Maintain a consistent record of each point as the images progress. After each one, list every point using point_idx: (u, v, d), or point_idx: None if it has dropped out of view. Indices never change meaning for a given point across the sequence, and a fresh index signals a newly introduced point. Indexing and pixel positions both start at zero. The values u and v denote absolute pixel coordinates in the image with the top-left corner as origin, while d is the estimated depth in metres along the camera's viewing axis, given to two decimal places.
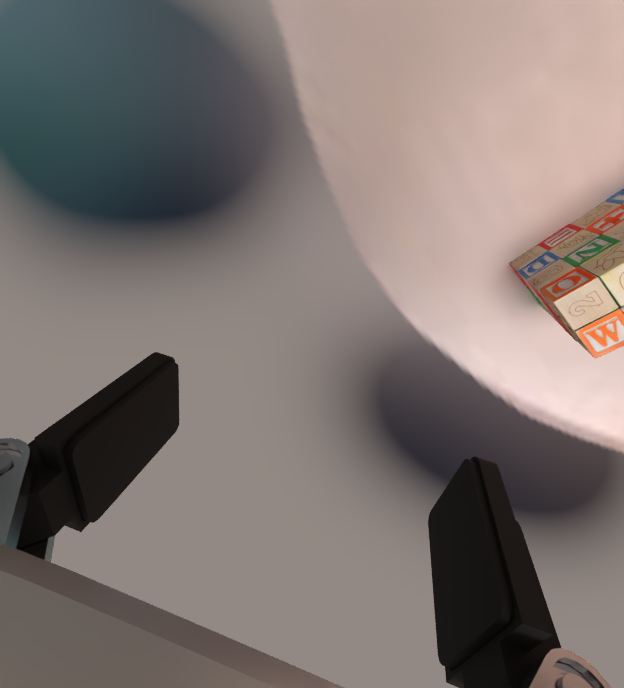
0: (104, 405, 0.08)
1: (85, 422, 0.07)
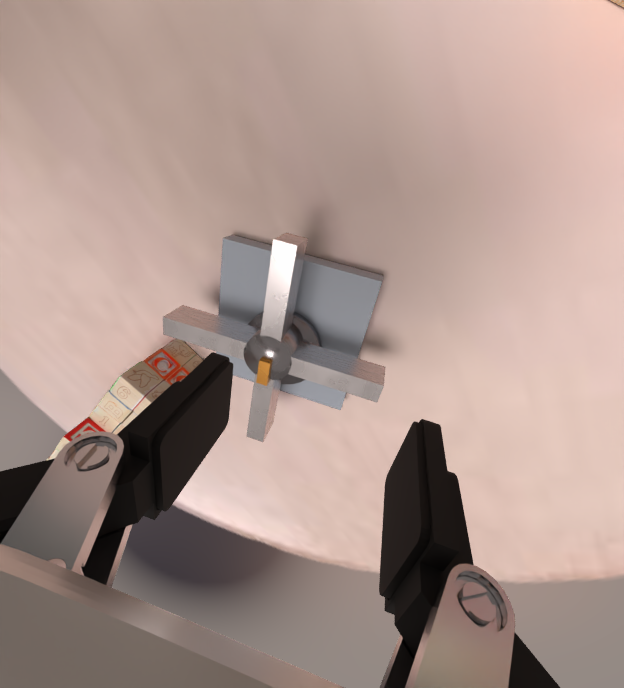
0: (180, 401, 0.08)
1: (168, 417, 0.08)
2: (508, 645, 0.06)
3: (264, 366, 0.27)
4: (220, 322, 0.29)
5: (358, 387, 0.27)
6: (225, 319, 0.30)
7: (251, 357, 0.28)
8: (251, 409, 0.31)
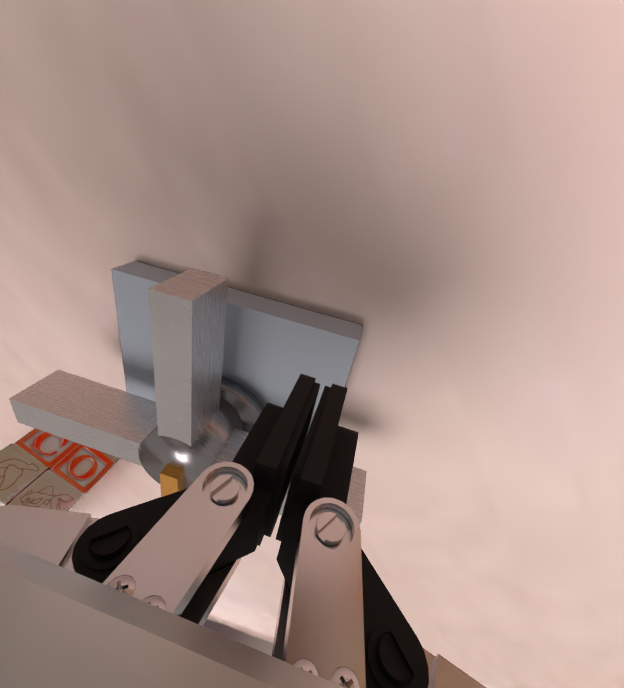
0: (290, 428, 0.08)
1: (286, 446, 0.08)
2: (358, 549, 0.06)
3: (169, 481, 0.17)
4: (110, 401, 0.19)
5: None
6: (121, 394, 0.19)
7: (151, 463, 0.17)
8: None
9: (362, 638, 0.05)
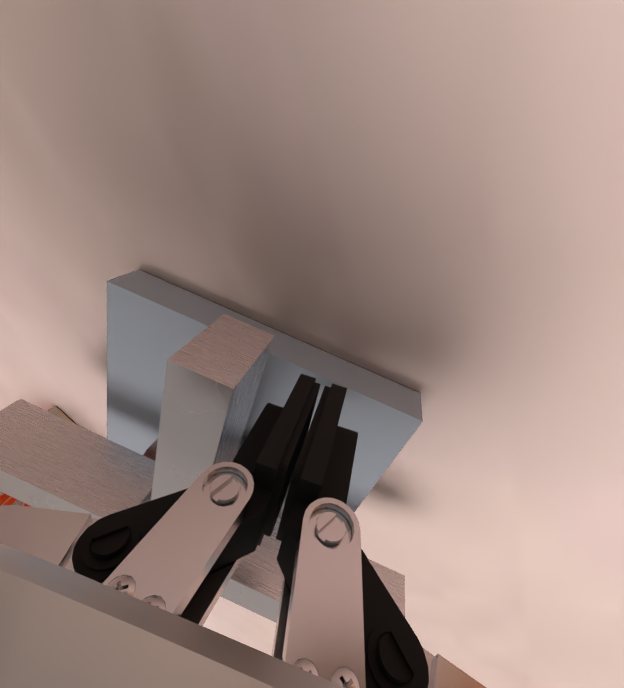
0: (290, 428, 0.08)
1: (286, 446, 0.08)
2: (358, 549, 0.06)
3: None
4: (85, 453, 0.14)
5: None
6: (101, 442, 0.15)
7: None
8: None
9: (362, 638, 0.05)
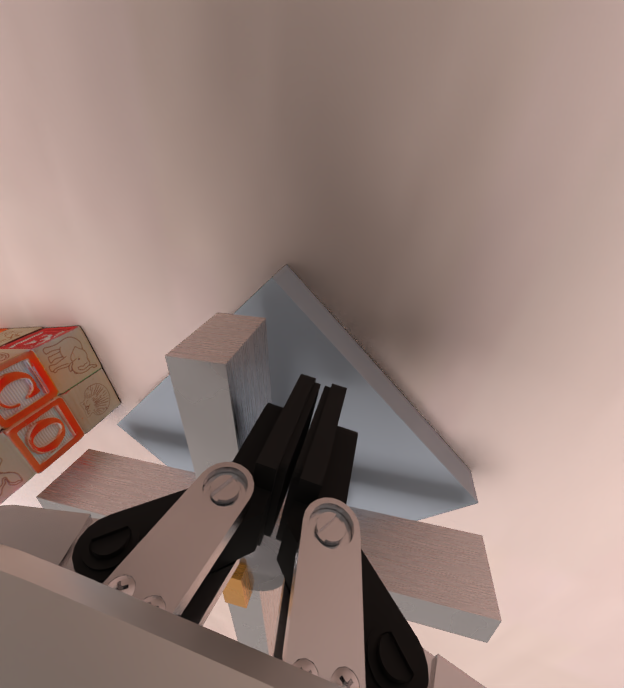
0: (290, 428, 0.08)
1: (286, 446, 0.08)
2: (358, 549, 0.06)
3: (231, 582, 0.13)
4: (148, 481, 0.16)
5: (438, 616, 0.12)
6: (160, 470, 0.16)
7: None
8: (235, 622, 0.17)
9: (362, 638, 0.05)
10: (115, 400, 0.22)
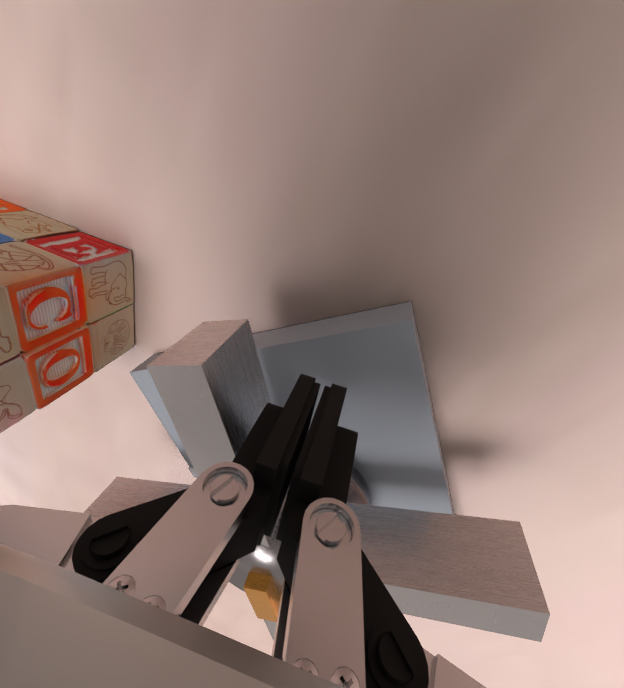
0: (290, 428, 0.08)
1: (286, 446, 0.08)
2: (358, 549, 0.06)
3: (258, 595, 0.13)
4: None
5: (478, 615, 0.11)
6: (182, 489, 0.17)
7: None
8: None
9: (362, 638, 0.05)
10: (131, 341, 0.19)
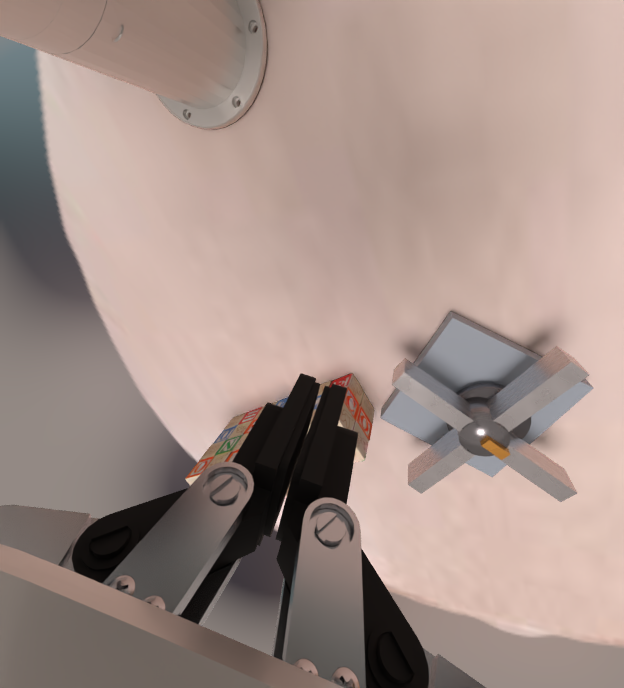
0: (290, 428, 0.08)
1: (286, 446, 0.08)
2: (358, 549, 0.06)
3: (489, 445, 0.30)
4: (435, 449, 0.35)
5: (559, 383, 0.26)
6: (435, 444, 0.35)
7: (476, 449, 0.31)
8: (530, 479, 0.31)
9: (362, 638, 0.05)
10: (372, 408, 0.41)
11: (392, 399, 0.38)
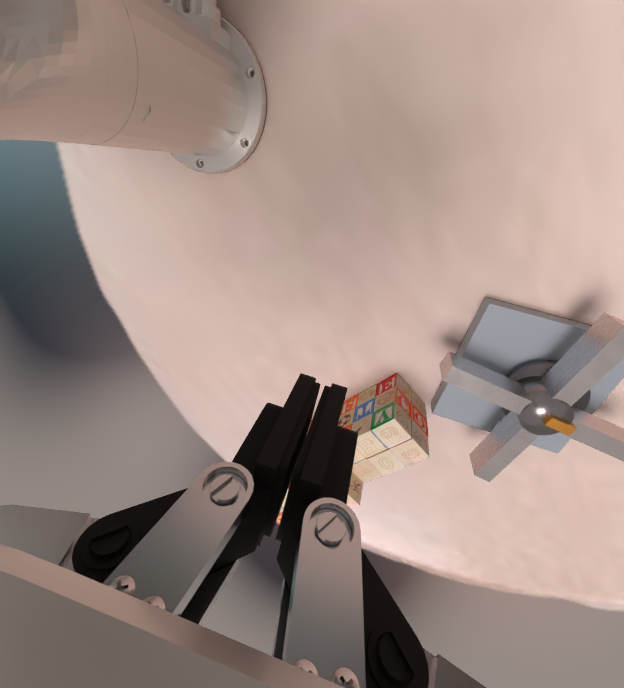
0: (290, 428, 0.08)
1: (286, 446, 0.08)
2: (359, 549, 0.06)
3: (553, 423, 0.30)
4: (495, 436, 0.35)
5: (616, 350, 0.26)
6: (494, 430, 0.35)
7: (539, 428, 0.31)
8: (602, 450, 0.30)
9: (362, 638, 0.05)
10: None
11: (440, 393, 0.39)
